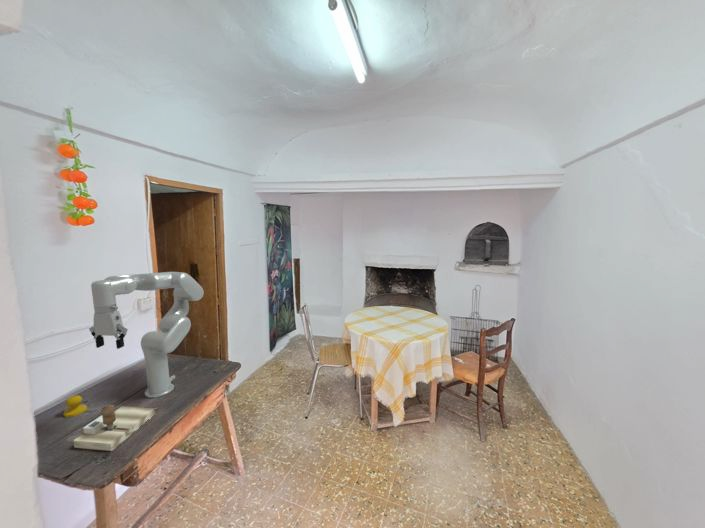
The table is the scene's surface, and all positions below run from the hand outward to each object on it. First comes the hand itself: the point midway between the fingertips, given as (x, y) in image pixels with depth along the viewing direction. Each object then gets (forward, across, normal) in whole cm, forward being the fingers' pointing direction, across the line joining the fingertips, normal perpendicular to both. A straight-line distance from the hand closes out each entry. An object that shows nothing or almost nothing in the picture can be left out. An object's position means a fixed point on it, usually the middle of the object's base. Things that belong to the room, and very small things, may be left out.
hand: (110, 347), depth 134 cm
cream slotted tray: (+32, -8, +9) cm, 34 cm away
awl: (+32, -8, +12) cm, 35 cm away
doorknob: (+33, +22, 0) cm, 39 cm away
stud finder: (+29, -2, +12) cm, 32 cm away
